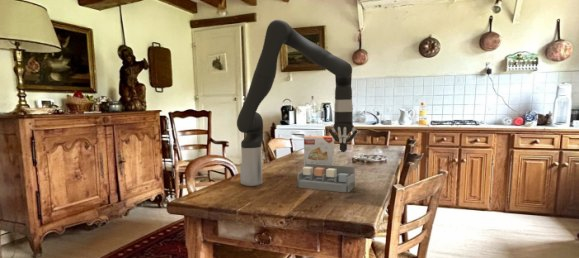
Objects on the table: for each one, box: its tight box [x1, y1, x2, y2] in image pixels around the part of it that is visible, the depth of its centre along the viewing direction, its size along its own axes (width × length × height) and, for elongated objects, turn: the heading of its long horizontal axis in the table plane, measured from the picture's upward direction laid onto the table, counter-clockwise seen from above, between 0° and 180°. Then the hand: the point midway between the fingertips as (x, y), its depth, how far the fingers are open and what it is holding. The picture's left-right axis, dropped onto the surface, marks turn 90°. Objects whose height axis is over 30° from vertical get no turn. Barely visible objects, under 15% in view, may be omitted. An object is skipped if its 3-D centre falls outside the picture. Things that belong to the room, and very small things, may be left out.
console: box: [296, 163, 356, 194], centre depth 143 cm, size 23×10×9 cm, turn 63°
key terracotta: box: [314, 167, 325, 176], centre depth 144 cm, size 4×4×3 cm
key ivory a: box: [302, 167, 313, 175], centre depth 147 cm, size 4×4×3 cm
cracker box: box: [303, 135, 335, 168], centre depth 159 cm, size 14×6×21 cm, turn 73°
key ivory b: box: [326, 168, 337, 177], centre depth 142 cm, size 4×4×3 cm
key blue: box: [338, 173, 349, 182], centre depth 139 cm, size 4×4×3 cm
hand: (343, 151), depth 138 cm, fingers closed
